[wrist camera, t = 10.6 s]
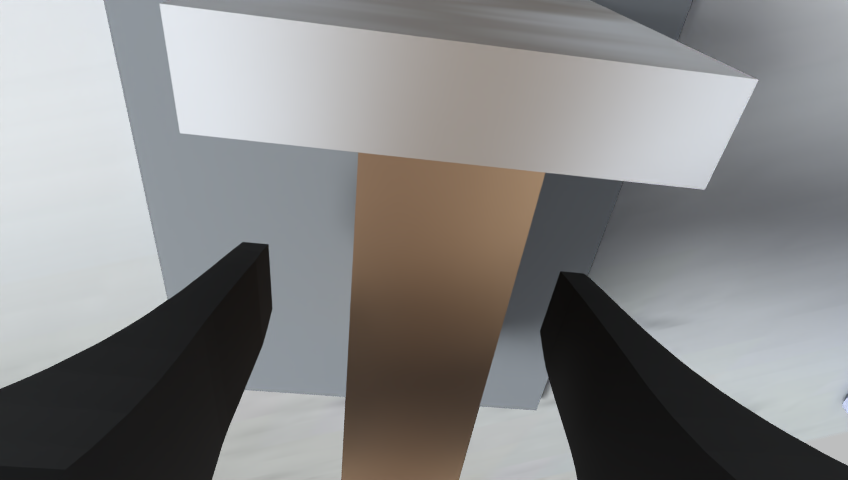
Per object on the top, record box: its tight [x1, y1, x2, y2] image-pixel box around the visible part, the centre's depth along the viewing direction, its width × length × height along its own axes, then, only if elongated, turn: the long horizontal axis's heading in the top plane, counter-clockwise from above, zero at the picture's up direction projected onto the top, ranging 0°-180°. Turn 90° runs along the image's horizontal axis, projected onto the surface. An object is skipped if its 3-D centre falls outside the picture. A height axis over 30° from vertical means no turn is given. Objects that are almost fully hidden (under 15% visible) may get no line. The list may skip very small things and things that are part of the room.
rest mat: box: [104, 0, 693, 410], centre depth 16 cm, size 14×16×1 cm
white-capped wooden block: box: [159, 0, 759, 480], centre depth 12 cm, size 7×12×7 cm, turn 173°
